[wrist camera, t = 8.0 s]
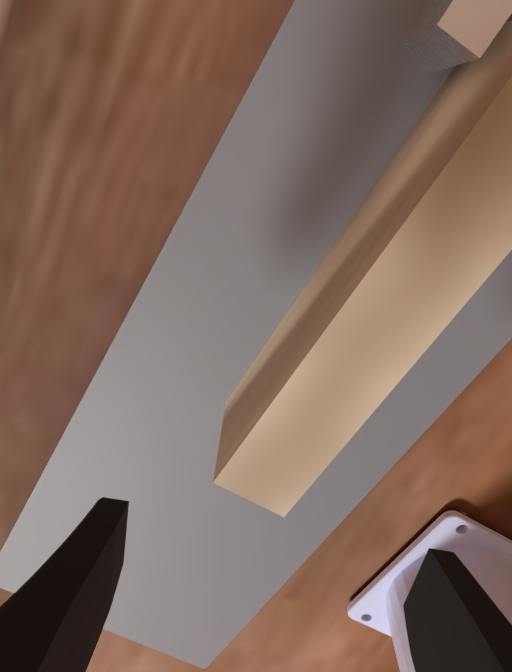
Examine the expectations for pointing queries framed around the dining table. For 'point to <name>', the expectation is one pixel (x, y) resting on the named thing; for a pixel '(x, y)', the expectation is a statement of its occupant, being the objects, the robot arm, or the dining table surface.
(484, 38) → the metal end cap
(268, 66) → the assembly board
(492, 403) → the dining table surface
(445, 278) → the birch slat
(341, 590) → the dining table surface
